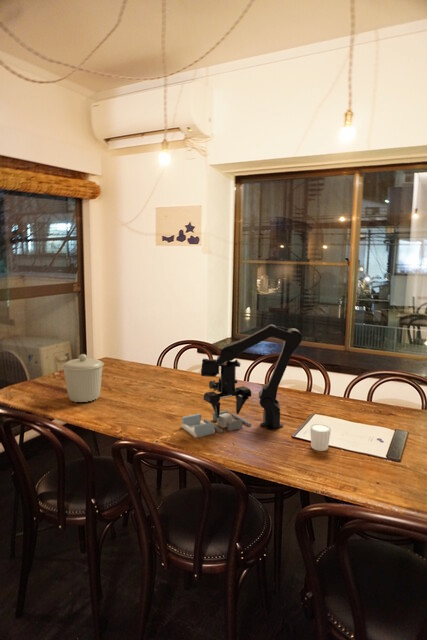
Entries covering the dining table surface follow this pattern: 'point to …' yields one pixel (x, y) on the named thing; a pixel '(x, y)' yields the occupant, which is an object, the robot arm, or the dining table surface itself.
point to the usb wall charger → (224, 419)
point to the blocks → (230, 422)
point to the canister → (83, 378)
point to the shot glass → (320, 437)
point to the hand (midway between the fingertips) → (227, 415)
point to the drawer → (197, 426)
